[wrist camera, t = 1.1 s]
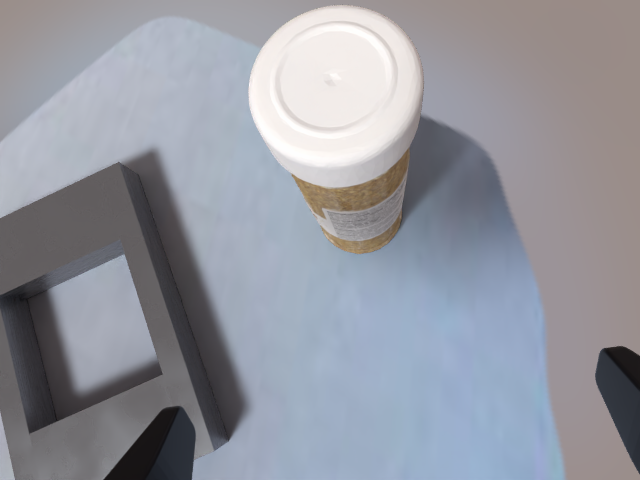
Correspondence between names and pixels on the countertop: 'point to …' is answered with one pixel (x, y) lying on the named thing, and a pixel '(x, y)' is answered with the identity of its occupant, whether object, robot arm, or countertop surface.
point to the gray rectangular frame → (159, 311)
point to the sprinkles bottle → (342, 117)
